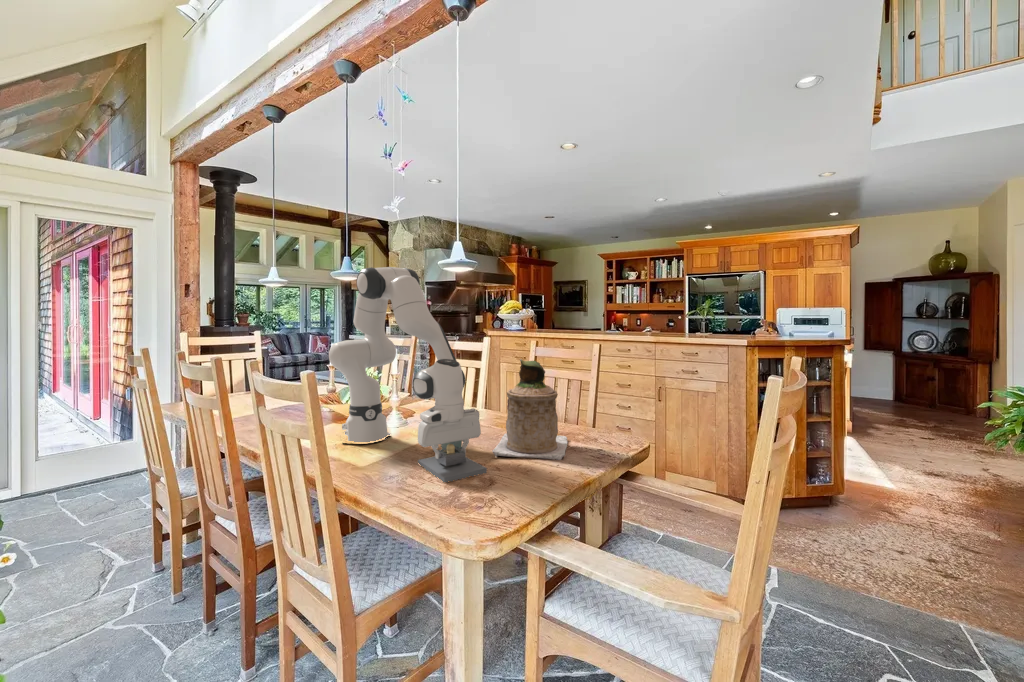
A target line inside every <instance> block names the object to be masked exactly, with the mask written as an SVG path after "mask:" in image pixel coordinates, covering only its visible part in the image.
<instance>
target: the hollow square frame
mask: <svg viewBox="0 0 1024 682" xmlns="http://www.w3.org/2000/svg"><path fill="white" fill-rule="evenodd" d="M437 450H438V451H440V452H441V453H442V458H440V459H437V461H438V462H440V463H441V464H443V465H445V466H449V465H454V464H459V463H463V462H466V457H467V455H466V454H467V451H466V452H465V451H463V450H461V449H459V448H458V447H455V453H450V454H447V449H442V448H440V449H437Z"/></svg>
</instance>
